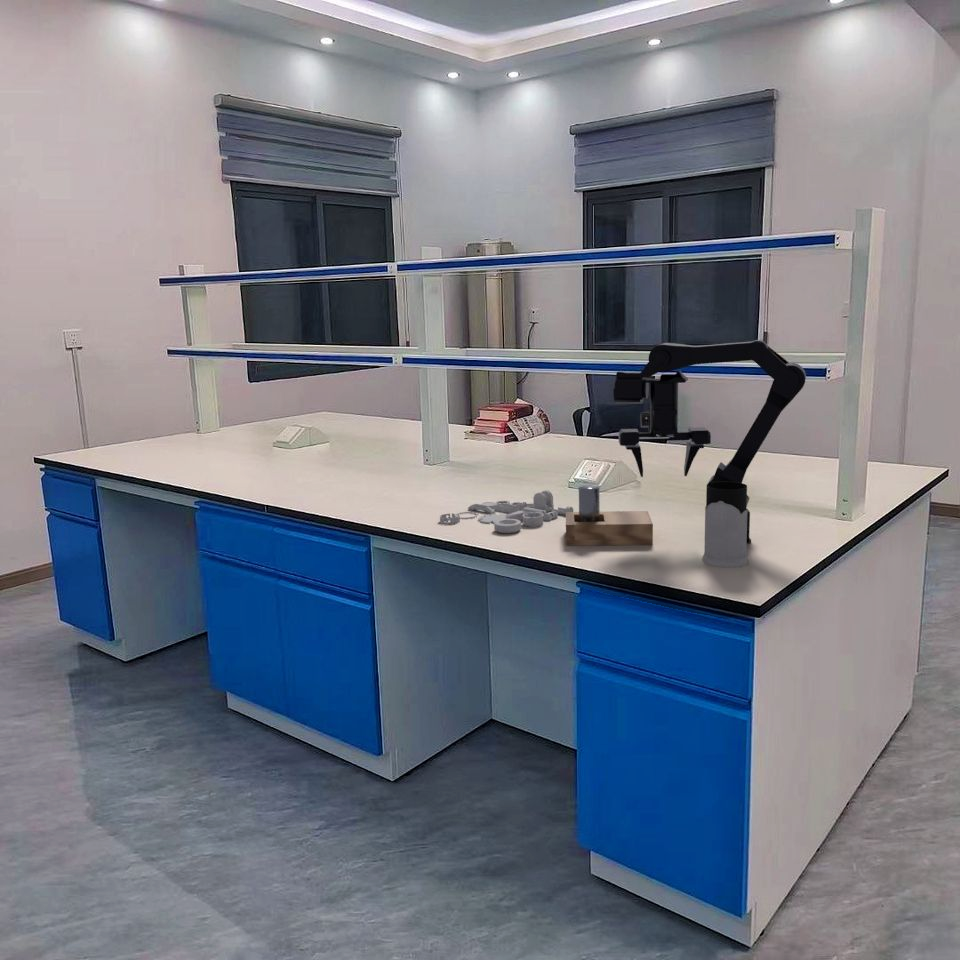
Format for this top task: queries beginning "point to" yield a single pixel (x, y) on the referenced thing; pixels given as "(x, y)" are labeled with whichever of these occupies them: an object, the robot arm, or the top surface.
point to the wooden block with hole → (610, 529)
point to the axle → (589, 504)
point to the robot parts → (514, 513)
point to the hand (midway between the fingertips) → (663, 476)
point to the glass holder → (725, 524)
